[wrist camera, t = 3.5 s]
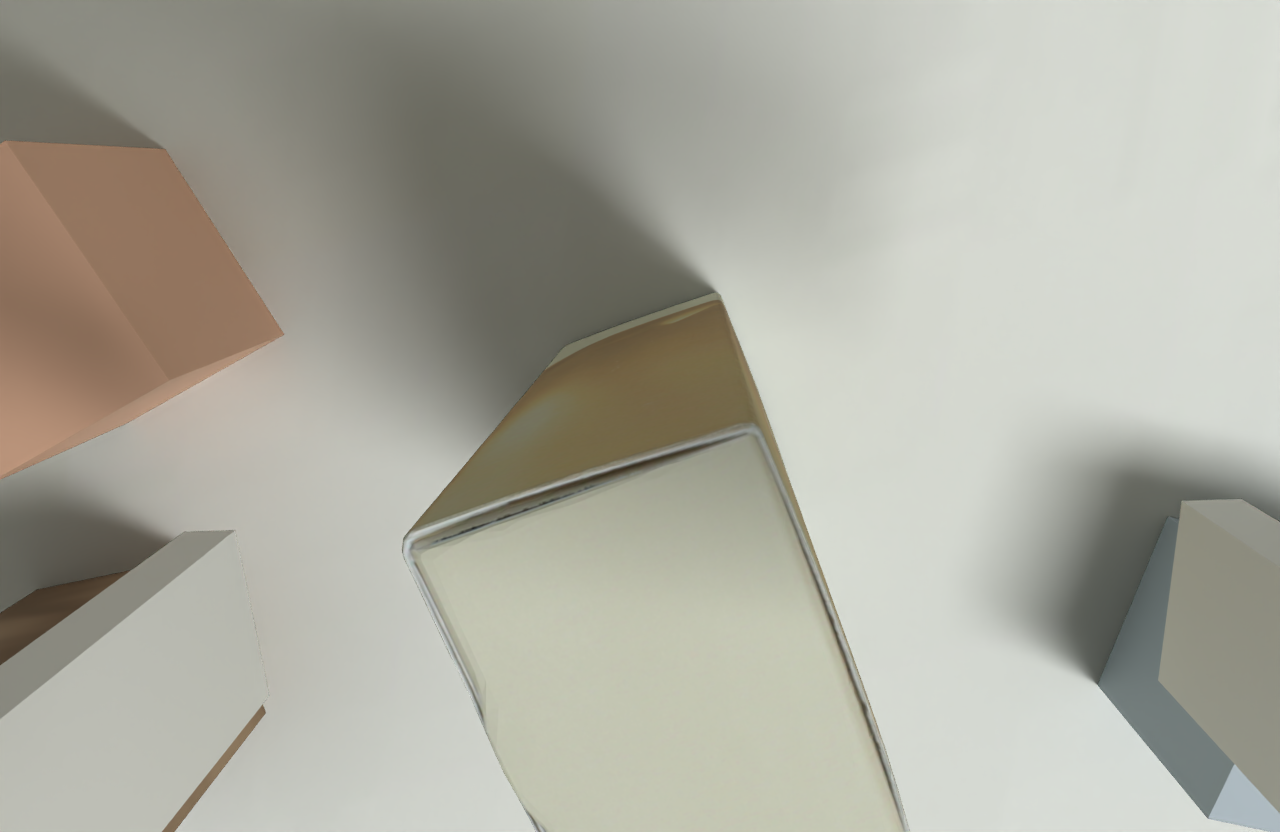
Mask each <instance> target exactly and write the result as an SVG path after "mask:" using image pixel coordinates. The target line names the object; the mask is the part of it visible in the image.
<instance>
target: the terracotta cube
mask: <svg viewBox="0 0 1280 832" xmlns="http://www.w3.org/2000/svg"><path fill="white" fill-rule="evenodd" d="M283 335H284V333H283V332H282V330H281V329H280V327H279V326H278V324H277V323H276V321H275V319H274V318H273V316H272V315H271V313H270V312H269V310H268V309H267V307H266V305H265V304H264V302H263V301H262V299H261V298H260V296H259V295H258V293H257V291H256V290H255V288H254V287H253V285H252V284H251V282H250V281H249V279H248V277H247V276H246V274H245V273H244V271H243V270H242V268H241V267H240V265H239V263H238V262H237V260H236V259H235V257H234V256H233V254H232V253H231V251H230V249H229V248H228V246H227V245H226V243H225V242H224V240H223V239H222V237H221V235H220V234H219V232H218V231H217V229H216V228H215V226H214V225H213V223H212V221H211V220H210V218H209V217H208V215H207V214H206V212H205V211H204V209H203V207H202V206H201V204H200V203H199V201H198V200H197V198H196V197H195V195H194V193H193V192H192V190H191V189H190V187H189V186H188V184H187V183H186V181H185V179H184V178H183V176H182V175H181V173H180V172H179V170H178V169H177V167H176V165H175V164H174V162H173V161H172V159H171V158H170V156H169V155H168V153H167V151H166V150H165V149H154V148H135V147H117V146H98V145H79V144H60V143H41V142H23V141H4V142H2V143H1V144H0V480H1V479H3V478H5V477H7V476H10V475H12V474H14V473H16V472H19V471H21V470H23V469H25V468H28V467H30V466H32V465H34V464H37V463H39V462H41V461H43V460H45V459H48V458H50V457H52V456H54V455H57V454H59V453H61V452H63V451H66V450H68V449H70V448H72V447H75V446H77V445H79V444H81V443H84V442H86V441H88V440H90V439H93V438H95V437H97V436H99V435H102V434H104V433H106V432H108V431H111V430H113V429H115V428H117V427H120V426H122V425H124V424H126V423H128V422H130V421H132V420H134V419H135V418H137V417H139V416H141V415H142V414H144V413H146V412H148V411H150V410H151V409H153V408H155V407H157V406H158V405H160V404H162V403H164V402H166V401H167V400H169V399H171V398H173V397H174V396H176V395H178V394H180V393H181V392H183V391H185V390H187V389H189V388H190V387H192V386H194V385H196V384H197V383H199V382H201V381H203V380H205V379H206V378H208V377H210V376H212V375H213V374H215V373H217V372H219V371H220V370H222V369H224V368H226V367H228V366H229V365H231V364H233V363H235V362H236V361H238V360H240V359H242V358H244V357H245V356H247V355H249V354H251V353H252V352H254V351H256V350H258V349H259V348H261V347H263V346H265V345H267V344H268V343H270V342H272V341H274V340H275V339H277V338H279V337H281V336H283Z"/></svg>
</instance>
